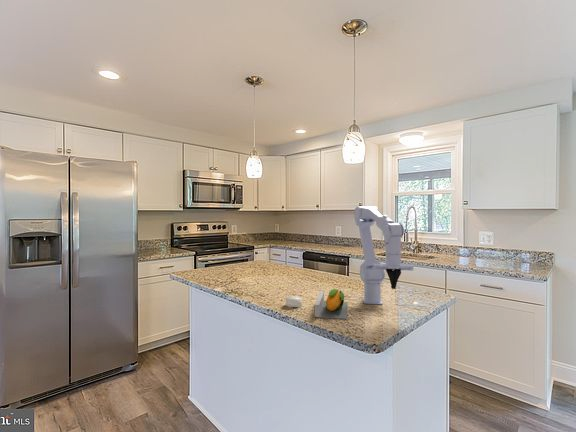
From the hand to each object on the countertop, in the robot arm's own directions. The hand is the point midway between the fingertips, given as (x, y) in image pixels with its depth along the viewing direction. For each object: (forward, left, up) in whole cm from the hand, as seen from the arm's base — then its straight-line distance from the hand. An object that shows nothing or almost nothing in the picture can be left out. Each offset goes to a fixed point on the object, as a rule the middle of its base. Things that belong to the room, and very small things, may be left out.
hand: (393, 288), depth 119 cm
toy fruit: (-1, -23, -10) cm, 25 cm away
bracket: (-2, -24, -10) cm, 26 cm away
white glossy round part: (-5, -41, -11) cm, 43 cm away
